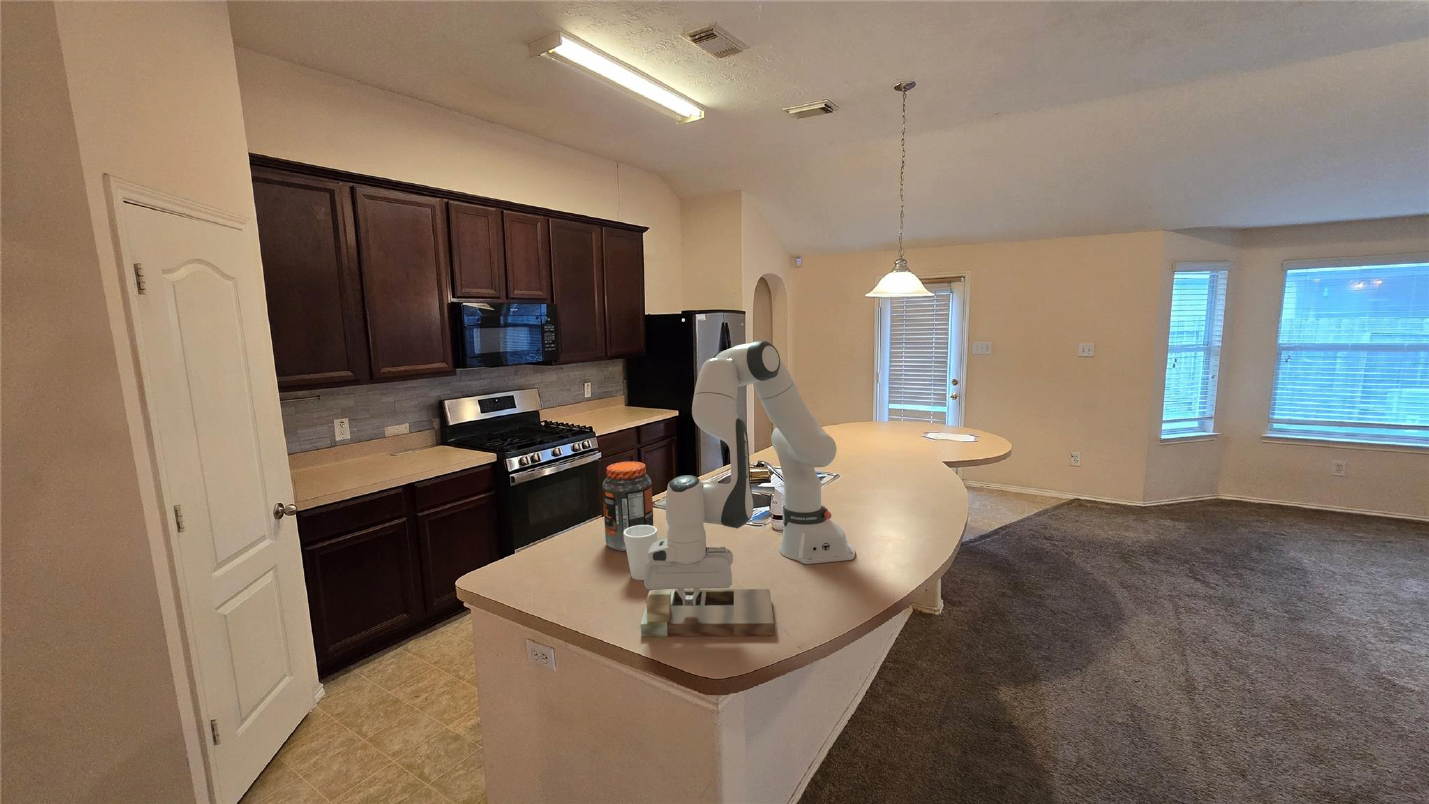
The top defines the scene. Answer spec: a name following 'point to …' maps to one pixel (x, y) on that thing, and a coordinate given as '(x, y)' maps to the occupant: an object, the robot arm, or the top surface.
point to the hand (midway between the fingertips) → (689, 604)
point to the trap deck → (716, 614)
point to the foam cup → (639, 547)
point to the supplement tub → (626, 501)
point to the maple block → (659, 606)
